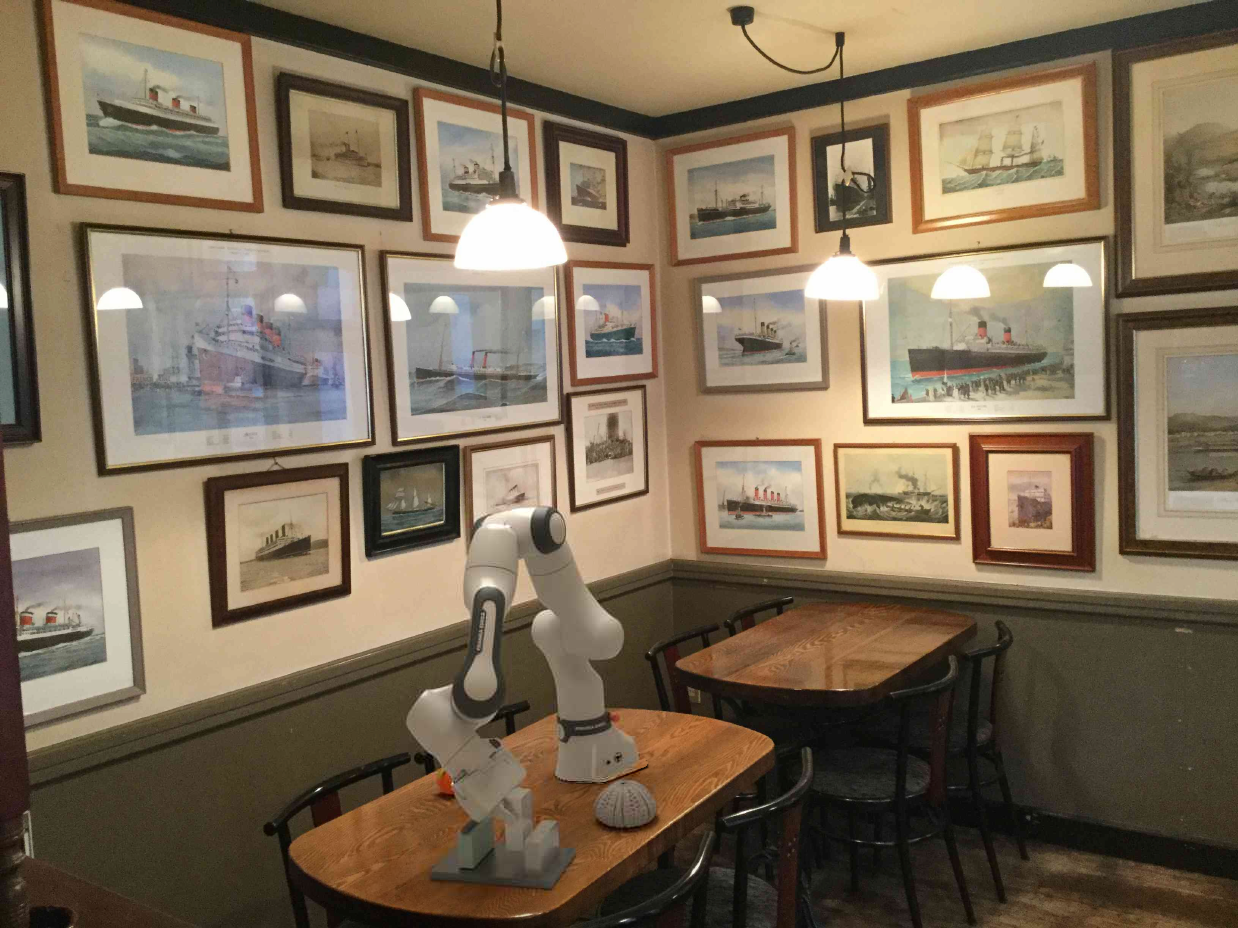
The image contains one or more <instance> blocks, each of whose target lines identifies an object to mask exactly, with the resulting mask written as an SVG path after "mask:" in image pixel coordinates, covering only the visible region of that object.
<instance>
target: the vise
mask: <svg viewBox="0 0 1238 928" xmlns="http://www.w3.org/2000/svg"><path fill="white" fill-rule="evenodd" d="M559 836H560V835H559V823H558V820H551V819H550V820H549V819H542V820H541V822H539V824H538V825H537V826H536V827H535V829H533V832H532V833H531V834H530V836H529V837H528V838H527V839H526V840H525V841H524V851H513V850H506V842H501V841H499V842H498V841H494V842H495V846H494V847H493V848H492V849H491V850H490V851H489V852H488V853H487V854H486V856H485V857H484V858H483V859H482V860H481V861H480V862H479V863H478V864H477V865H476V866H475V867H474V869H473V868H460V867H459V862H458V847H457V844H456V845H455V846H454V847H453V848H451V850H450V851H449V852H448V853H446V855H445V856H443V858H441V860H440V861H439V862H438V863H437V864H435V865H434V867H433V868H432V869H430V871H429V875H430V876H429V877H430V878H429V879H430V880H435V881H436V880H437V881H449V882H461V883H470V884H471V883H474V884H483V885H495V886H496V885H497V886H506V887H507V886H508V887H518V888H520V887H521V888H531V889H542V890H544V889H545V890H552V888H553V887H554V886H555V884H556V883H557V881H558V880H559V879H560V878H561V876H562V874H563V873H564V872H565V870H566V869H567V868H568V866H569V865H570V864H571V862H572V861H573V859H574V858H575V857H574V856H576V847H570V846H560V839H559Z"/></svg>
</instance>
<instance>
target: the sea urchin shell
mask: <svg viewBox="0 0 1238 928" xmlns="http://www.w3.org/2000/svg"><path fill="white" fill-rule="evenodd" d="M656 802H657V801H656V800H655V796H653V795H652V793H651V792H650V791H649V790H648V788H646V787H645V786H644V785H643V784H642V783H640V782H638V781H636V780H632V779H631V780H626V779H625V780H624V779H619V780H616V781H614V782H613V783H611V784H610V785H609V786H606V788H603V789H602V791H601V792H599V795H598V796H597V797H596V800H595V801H594V803H593V808H592V810H594V811H593V814H594V815H595V817H596V818H597V819H598V821H599V822H602V824H606V825H607V826H609V827H616V828H618V829H619V828H621V829H623V828H627V829H630V827H633V828H635V826H638V827H639V826H640V825H642V826H643V825H645V824H648V823H649V822H652V820H653V819H654V818H655V817H656V814H657V810H658V807H657V806H658V804H657V803H656ZM640 827H641V826H640Z"/></svg>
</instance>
